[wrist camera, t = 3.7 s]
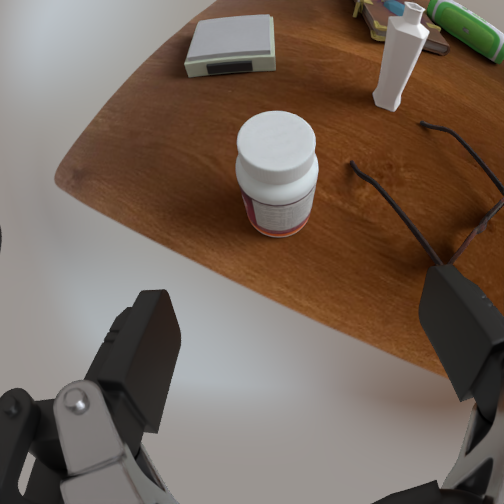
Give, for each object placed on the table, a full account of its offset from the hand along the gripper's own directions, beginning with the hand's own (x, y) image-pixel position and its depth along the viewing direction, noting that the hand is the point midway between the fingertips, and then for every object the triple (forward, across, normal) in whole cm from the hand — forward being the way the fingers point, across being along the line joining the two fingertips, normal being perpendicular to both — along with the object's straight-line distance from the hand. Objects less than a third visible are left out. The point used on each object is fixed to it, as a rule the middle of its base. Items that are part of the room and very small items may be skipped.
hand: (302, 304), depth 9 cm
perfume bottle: (+31, -15, -6) cm, 35 cm away
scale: (+40, +4, -15) cm, 43 cm away
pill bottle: (+21, 0, +5) cm, 21 cm away
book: (+49, -26, -23) cm, 60 cm away
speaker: (+47, -42, -21) cm, 66 cm away
